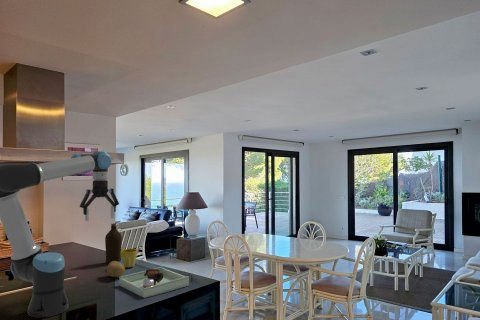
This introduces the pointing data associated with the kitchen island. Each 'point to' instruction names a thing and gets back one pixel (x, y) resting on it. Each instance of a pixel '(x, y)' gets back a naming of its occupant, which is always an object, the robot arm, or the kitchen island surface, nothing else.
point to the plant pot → (129, 257)
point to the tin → (148, 283)
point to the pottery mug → (154, 275)
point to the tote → (165, 285)
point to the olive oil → (113, 244)
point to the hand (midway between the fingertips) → (99, 219)
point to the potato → (115, 269)
